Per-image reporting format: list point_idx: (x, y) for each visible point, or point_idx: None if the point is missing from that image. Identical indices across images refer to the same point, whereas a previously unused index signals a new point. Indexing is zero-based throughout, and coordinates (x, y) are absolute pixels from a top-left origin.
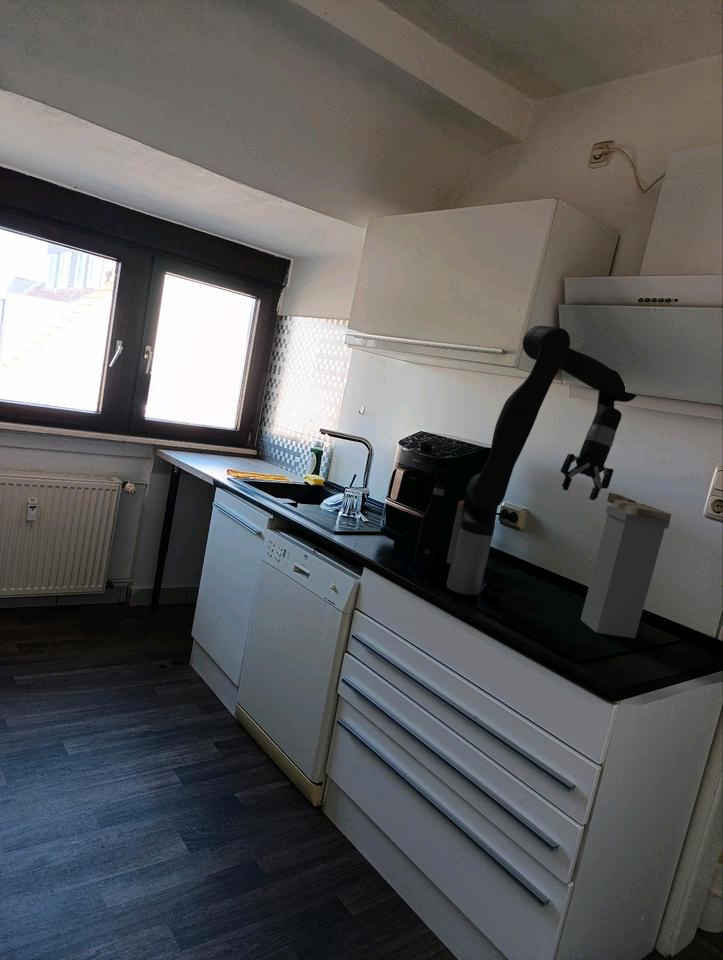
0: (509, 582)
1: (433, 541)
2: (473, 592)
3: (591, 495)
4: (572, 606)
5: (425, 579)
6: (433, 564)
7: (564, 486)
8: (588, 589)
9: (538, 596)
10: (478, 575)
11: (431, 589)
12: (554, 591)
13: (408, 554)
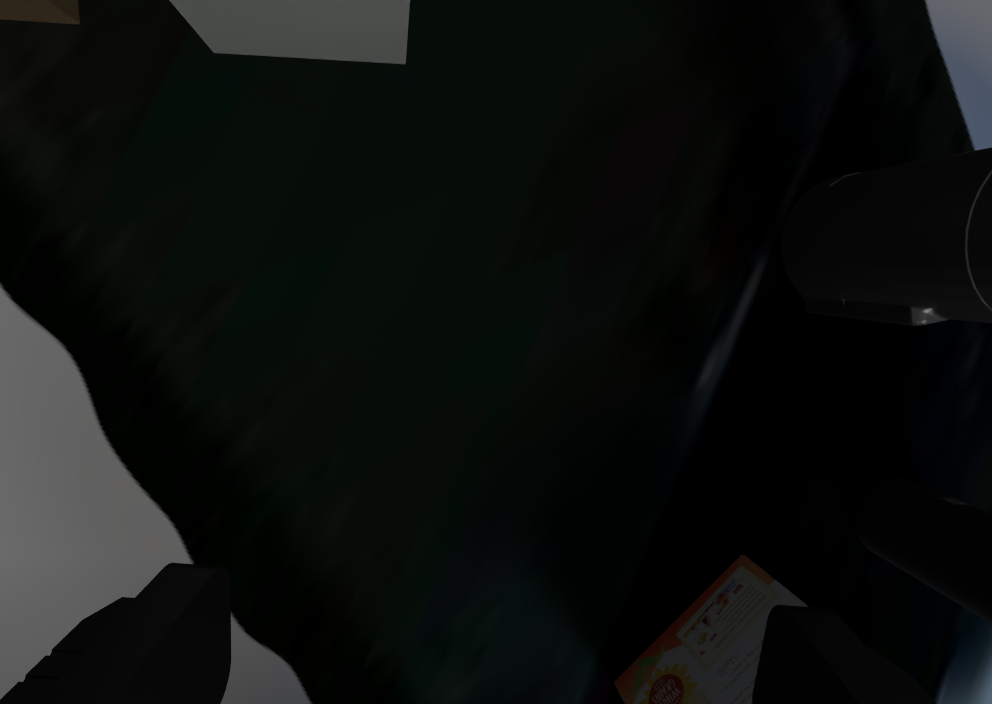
0: (565, 471)
1: (988, 524)
2: (834, 178)
3: (190, 699)
4: (359, 250)
5: None
6: (867, 506)
7: (884, 661)
8: (409, 3)
9: (492, 325)
10: (886, 169)
11: None
12: (361, 450)
13: (908, 623)
